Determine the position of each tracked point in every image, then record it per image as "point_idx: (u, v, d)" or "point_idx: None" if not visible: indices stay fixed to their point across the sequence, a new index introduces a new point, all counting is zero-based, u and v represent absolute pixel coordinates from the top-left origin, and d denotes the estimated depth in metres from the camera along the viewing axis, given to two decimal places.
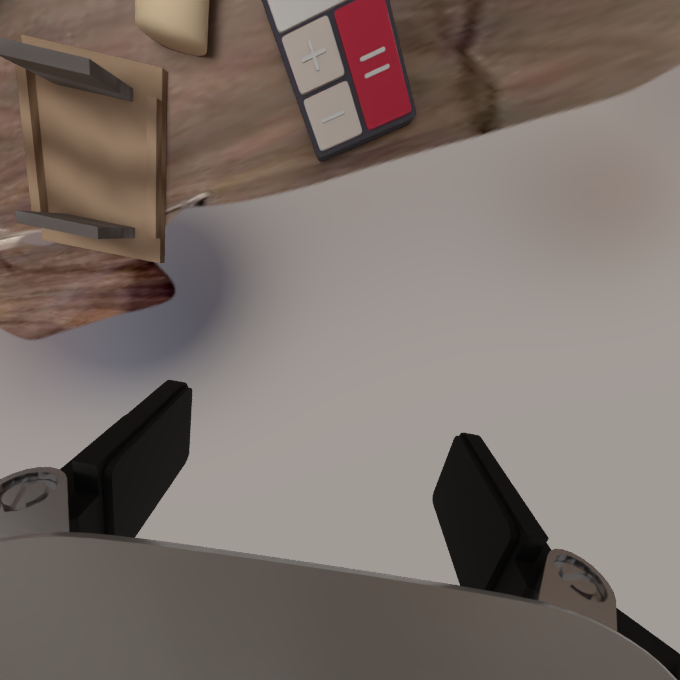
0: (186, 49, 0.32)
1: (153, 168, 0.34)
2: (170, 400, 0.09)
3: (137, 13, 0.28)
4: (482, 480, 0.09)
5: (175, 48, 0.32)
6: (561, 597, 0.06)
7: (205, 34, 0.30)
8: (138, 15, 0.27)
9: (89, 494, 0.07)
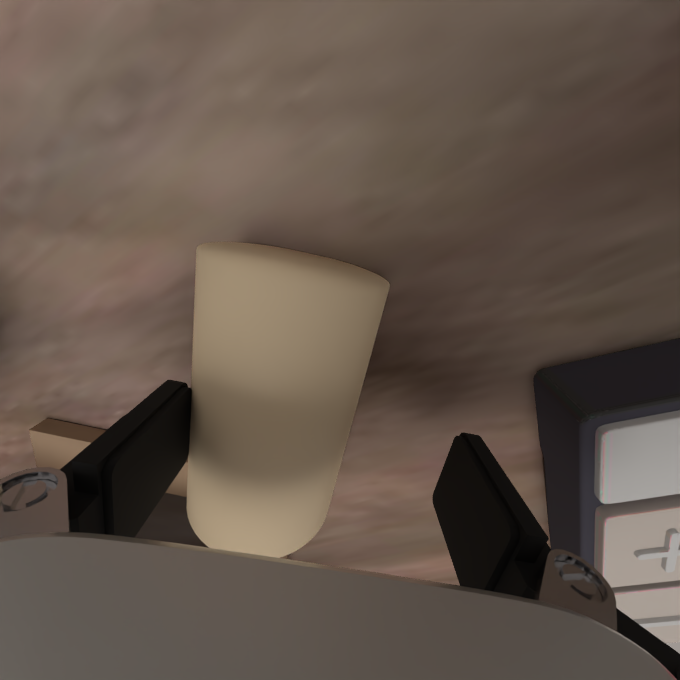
0: None
1: None
2: (170, 400, 0.09)
3: None
4: (482, 480, 0.09)
5: None
6: (561, 597, 0.06)
7: (224, 537, 0.11)
8: None
9: (89, 494, 0.07)
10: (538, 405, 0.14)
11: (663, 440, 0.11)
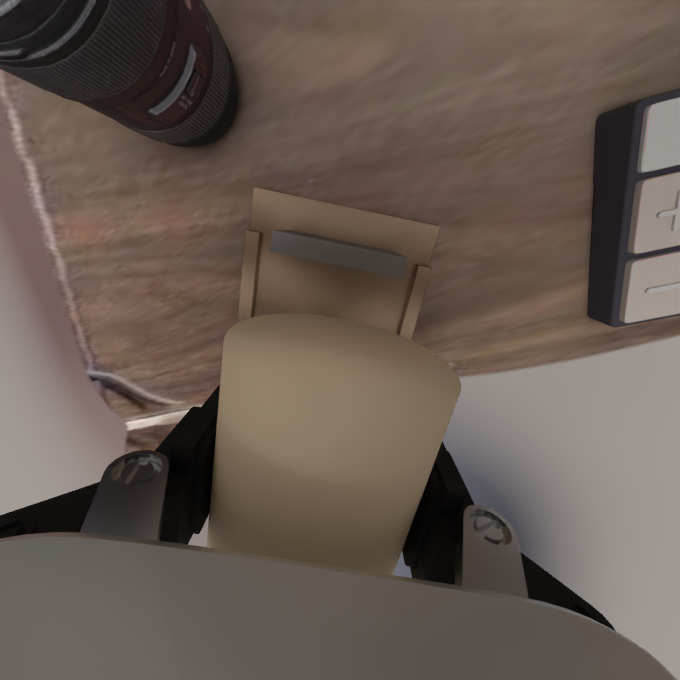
0: None
1: None
2: None
3: None
4: None
5: None
6: (479, 551, 0.07)
7: None
8: None
9: (183, 474, 0.08)
10: (597, 141, 0.22)
11: None
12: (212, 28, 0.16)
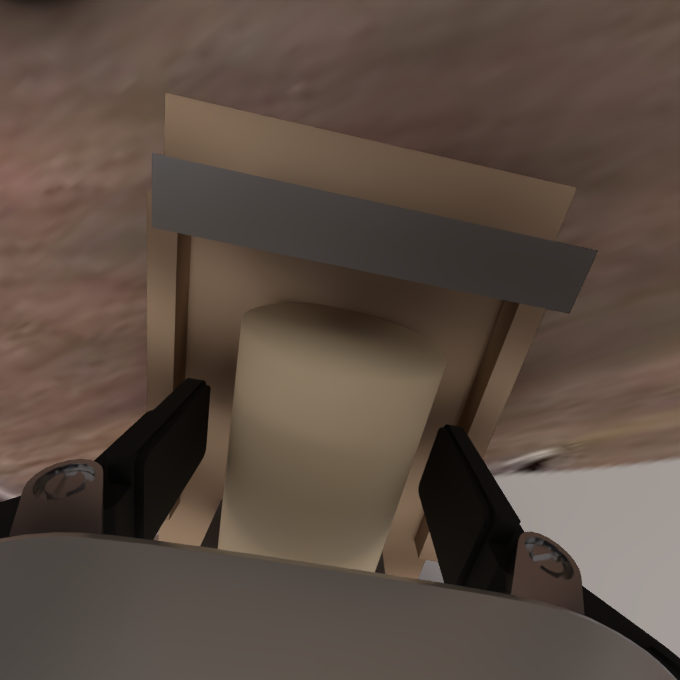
0: None
1: (485, 436, 0.13)
2: (192, 397, 0.09)
3: None
4: (462, 468, 0.09)
5: None
6: (533, 579, 0.06)
7: None
8: None
9: (122, 485, 0.07)
10: None
11: None
12: None
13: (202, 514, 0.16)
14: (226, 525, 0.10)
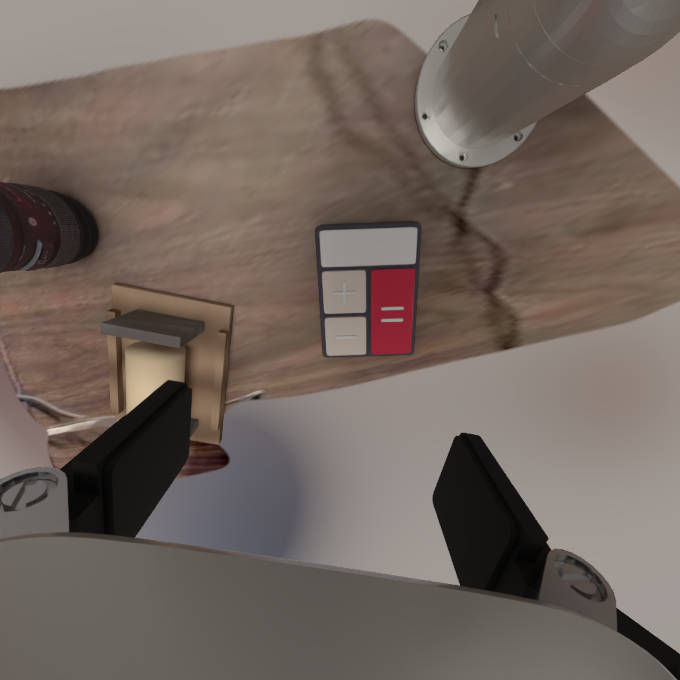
0: None
1: (219, 382, 0.39)
2: (170, 400, 0.09)
3: None
4: (482, 480, 0.09)
5: None
6: (561, 597, 0.06)
7: None
8: None
9: (89, 494, 0.07)
10: None
11: (338, 239, 0.32)
12: (59, 219, 0.30)
13: None
14: (126, 400, 0.36)
